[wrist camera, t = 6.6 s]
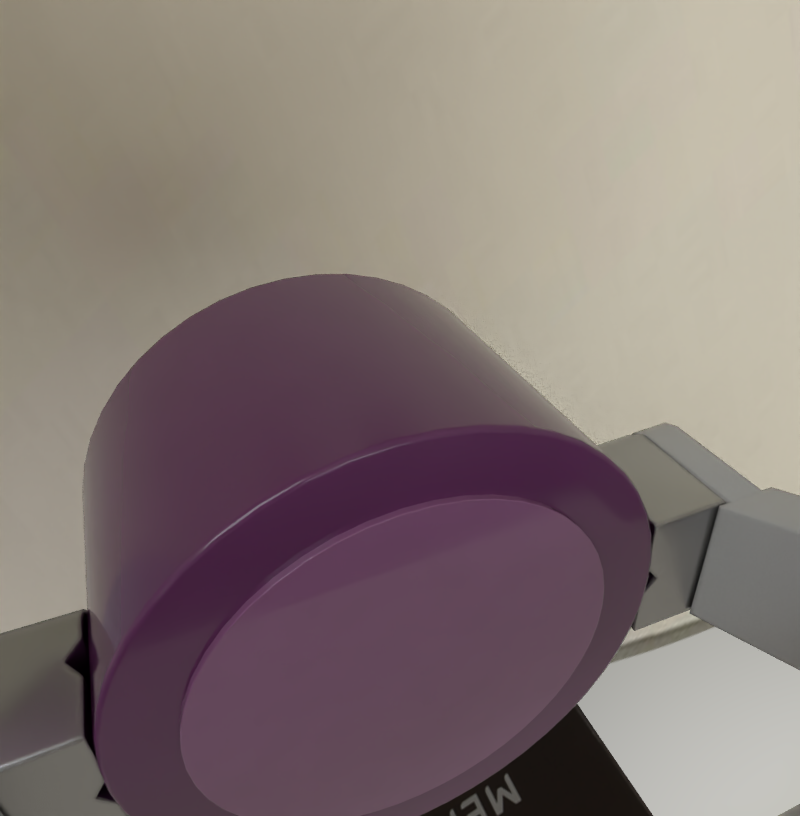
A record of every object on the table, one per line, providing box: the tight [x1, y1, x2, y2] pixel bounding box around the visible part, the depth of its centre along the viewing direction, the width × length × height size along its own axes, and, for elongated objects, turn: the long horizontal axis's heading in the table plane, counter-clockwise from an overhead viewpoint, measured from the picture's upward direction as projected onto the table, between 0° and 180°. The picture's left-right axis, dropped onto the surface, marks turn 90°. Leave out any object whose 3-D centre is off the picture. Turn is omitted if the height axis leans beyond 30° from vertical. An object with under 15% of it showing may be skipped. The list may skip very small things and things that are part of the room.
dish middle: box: [83, 274, 652, 816], centre depth 9 cm, size 6×6×4 cm
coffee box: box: [421, 704, 653, 816], centre depth 20 cm, size 9×6×16 cm
